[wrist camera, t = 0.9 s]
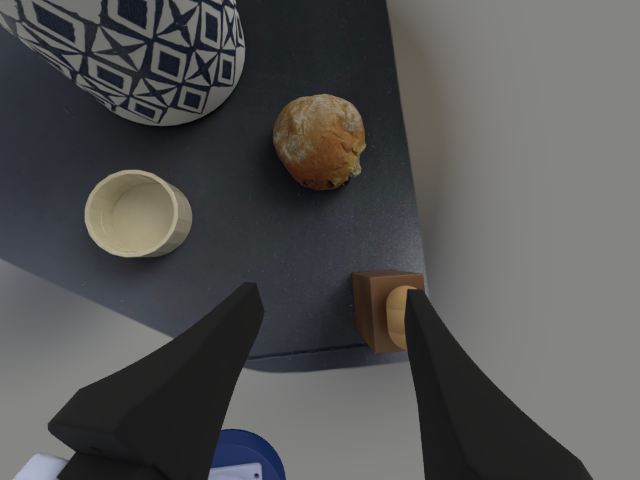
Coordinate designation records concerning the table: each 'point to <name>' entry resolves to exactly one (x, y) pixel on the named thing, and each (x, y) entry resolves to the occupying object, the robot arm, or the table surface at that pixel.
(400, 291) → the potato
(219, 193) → the table surface
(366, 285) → the block
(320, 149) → the bread roll
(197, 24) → the planter
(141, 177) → the bowl
